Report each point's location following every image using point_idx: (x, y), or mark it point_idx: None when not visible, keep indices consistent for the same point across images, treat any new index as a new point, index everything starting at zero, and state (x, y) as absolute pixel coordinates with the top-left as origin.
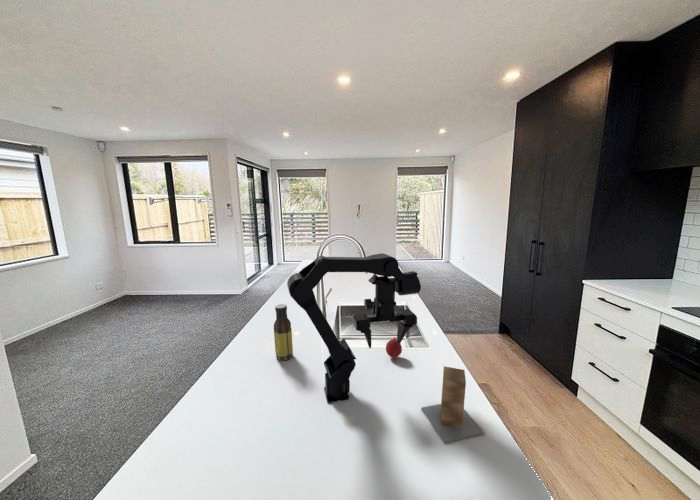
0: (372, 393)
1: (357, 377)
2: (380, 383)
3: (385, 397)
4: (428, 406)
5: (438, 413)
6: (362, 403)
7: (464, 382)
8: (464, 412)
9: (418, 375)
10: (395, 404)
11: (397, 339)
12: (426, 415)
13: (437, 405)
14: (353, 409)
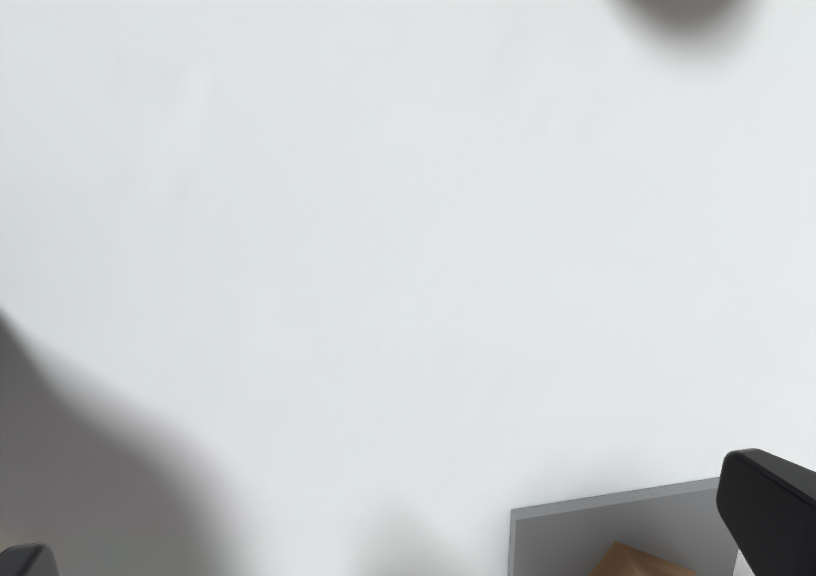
0: (208, 336)
1: (77, 76)
2: (316, 219)
3: (309, 390)
4: (563, 513)
5: (586, 561)
6: (99, 433)
7: None
8: (724, 558)
9: (700, 168)
10: (361, 459)
11: (793, 537)
12: (512, 567)
13: (621, 507)
14: (15, 483)
